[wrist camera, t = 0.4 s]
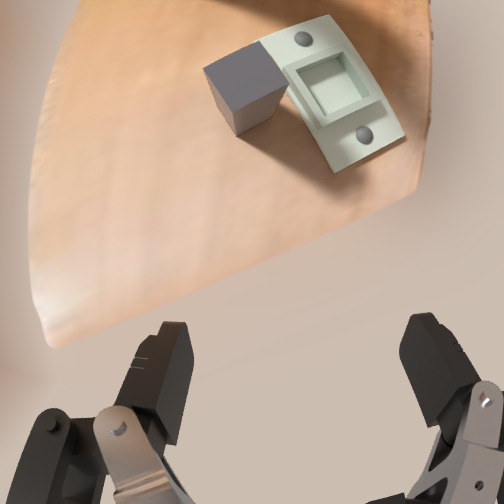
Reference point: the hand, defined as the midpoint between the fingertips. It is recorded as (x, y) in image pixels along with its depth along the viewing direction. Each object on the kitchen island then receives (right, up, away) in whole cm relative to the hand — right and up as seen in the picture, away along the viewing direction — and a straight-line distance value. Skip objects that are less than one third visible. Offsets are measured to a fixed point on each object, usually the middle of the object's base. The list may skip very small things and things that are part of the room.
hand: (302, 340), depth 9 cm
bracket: (+9, +24, +22) cm, 34 cm away
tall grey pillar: (-3, +20, +23) cm, 30 cm away
